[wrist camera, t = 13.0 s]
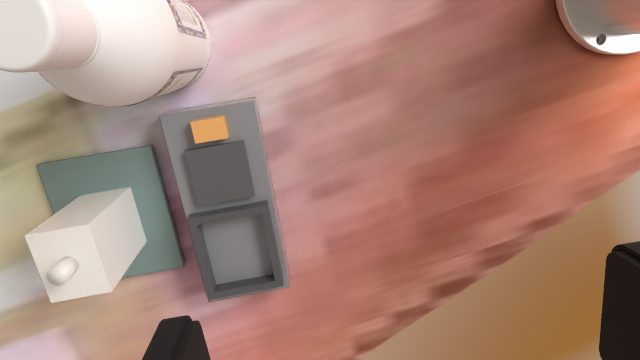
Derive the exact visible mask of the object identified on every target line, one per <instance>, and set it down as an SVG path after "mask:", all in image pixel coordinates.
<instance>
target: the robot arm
mask: <svg viewBox="0 0 640 360" xmlns="http://www.w3.org/2000/svg"><path fill="white" fill-rule="evenodd" d="M556 6H557V10H558V13H559V16H560V19H561V21H562V23H563V25H564V27H565V28H566V30H567V32H568V33H569V34H570V35H571V36H572V37H573V39H574V40H575V41H577V42H578V43H579V44H581V45H582V46H583V47H585V48H587V49H589V50H592V51H594V52H596V53H602V54H608V55H624V54H630V53H637V52H639V51H640V0H556ZM599 352H600V356H601V358H602V360H640V241H639V242H633V243H626V244H621V245H617V246H615V247H614V248H613V249H612V253H609V254H608V256H607V259H606V269H605V281H604V294H603V306H602V318H601V332H600V343H599ZM142 360H210V356H209V352H208V349H207V345H206V342H205V338H204V335H203V331H202V327H201V324H200V322H199V321H192V319H191V318H190V316H188V315H187V316H180V317H174V318H168V319H163V320H161V322H160V323H159V325H158V327H157V330H156V332H155V334H154V336H153V338H152V340H151V342H150V344H149V346H148V348H147V350H146V352H145V355H144V357H143V359H142Z"/></svg>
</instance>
